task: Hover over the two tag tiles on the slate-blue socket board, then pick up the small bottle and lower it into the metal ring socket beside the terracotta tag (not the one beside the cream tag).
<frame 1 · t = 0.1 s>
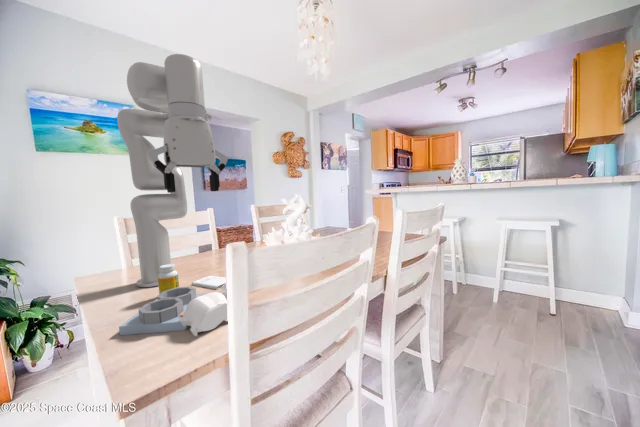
hand: (194, 191, 61), 31 cm above the table, tool pointing down, fingers open, 9 cm apart
supplement bottle: (170, 296, 81), on the table
white figurine: (216, 322, 64), on the table, touching socket board
external hard drive: (214, 285, 92), on the table
socket board: (171, 315, 68), on the table
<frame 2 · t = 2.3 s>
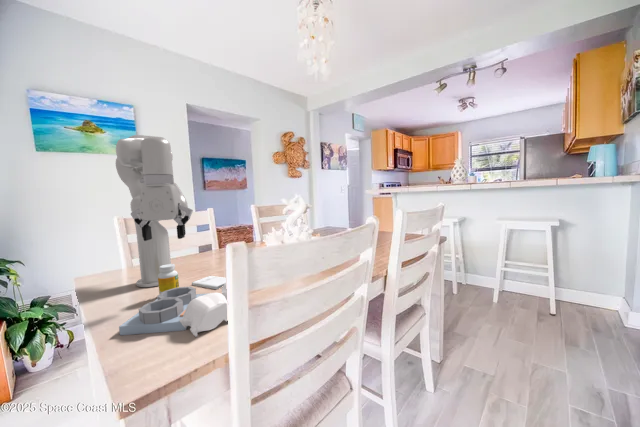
hand: (164, 239, 80), 18 cm above the table, tool pointing down, fingers open, 9 cm apart
nothing on the table moved.
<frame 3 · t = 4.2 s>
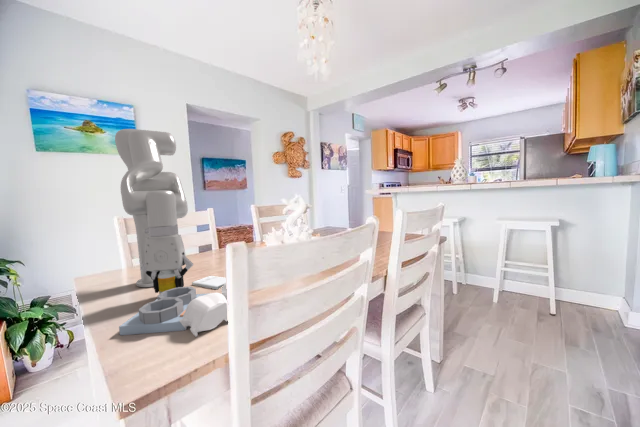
hand: (169, 289, 81), 2 cm above the table, tool pointing down, fingers closed on supplement bottle, 5 cm apart
supplement bottle: (170, 296, 81), on the table, touching gripper
everything else where it was.
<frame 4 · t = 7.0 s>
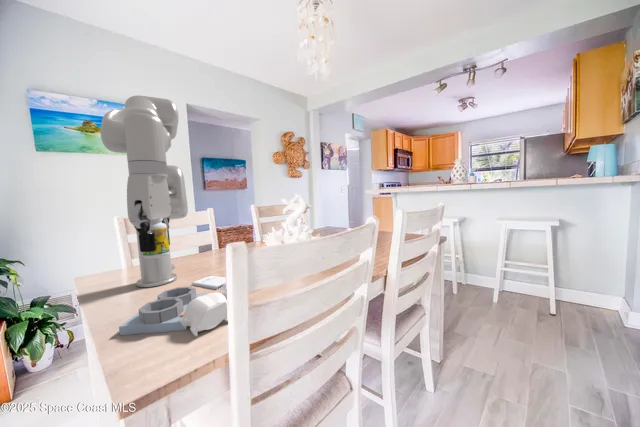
hand: (155, 247, 62), 18 cm above the table, tool pointing down, fingers closed on supplement bottle, 5 cm apart
supplement bottle: (156, 256, 62), point 16 cm above the table, touching gripper
everything else where it was.
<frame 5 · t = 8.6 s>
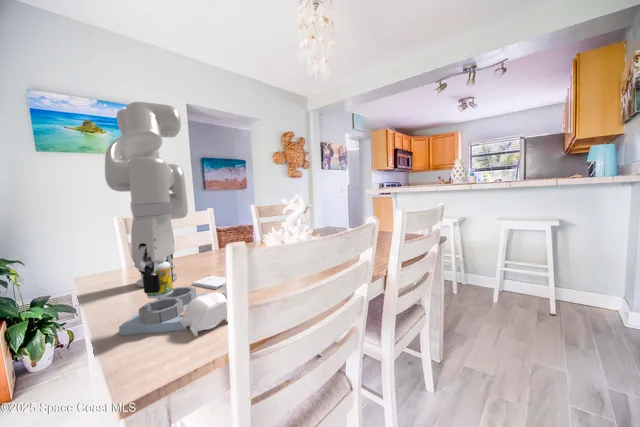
hand: (159, 286, 63), 9 cm above the table, tool pointing down, fingers closed on supplement bottle, 5 cm apart
supplement bottle: (160, 295, 63), point 7 cm above the table, touching gripper
everything else where it was.
when the fingers open (5 cm above the table, at t = 9.8 s): supplement bottle drops 1 cm, resting on socket board.
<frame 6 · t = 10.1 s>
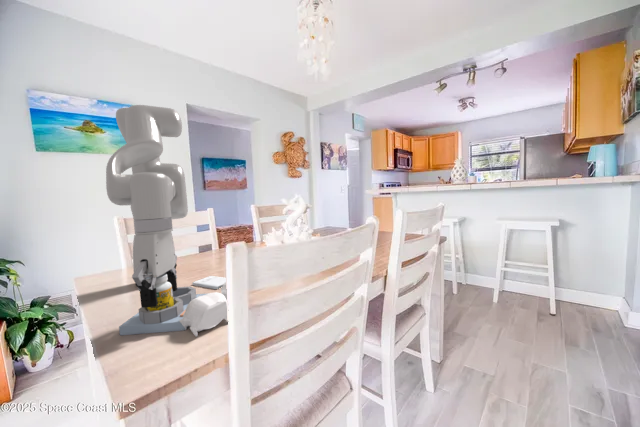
hand: (160, 298, 63), 6 cm above the table, tool pointing down, fingers open, 8 cm apart
supplement bottle: (161, 315, 63), point 2 cm above the table, touching socket board
everything else where it was.
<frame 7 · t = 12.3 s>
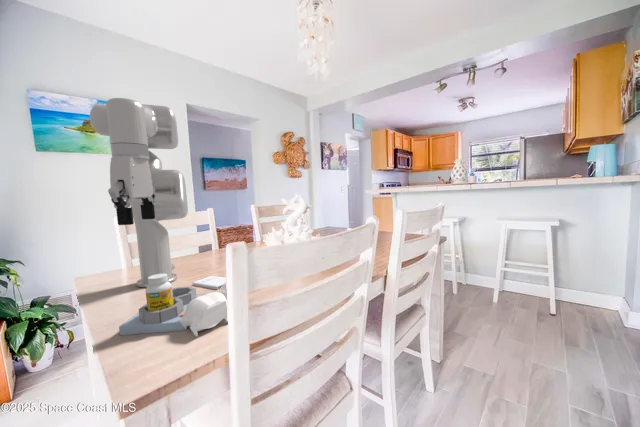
hand: (138, 221, 67), 24 cm above the table, tool pointing down, fingers open, 9 cm apart
nothing on the table moved.
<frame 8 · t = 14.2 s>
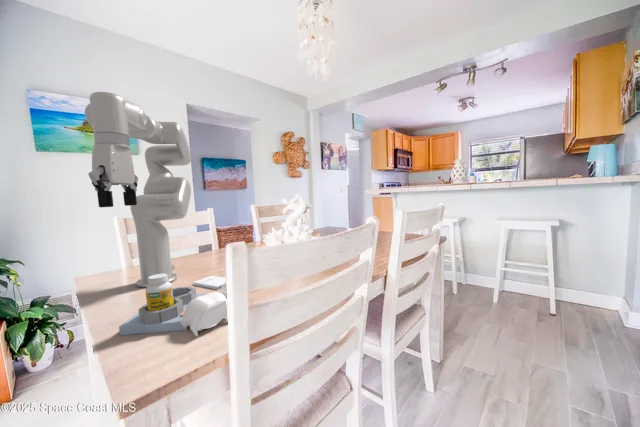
hand: (119, 206, 72), 28 cm above the table, tool pointing down, fingers open, 9 cm apart
nothing on the table moved.
at the end: supplement bottle 0.1 cm from the target spot on the socket board, point 1.8 cm above the socket board's base; supplement bottle tilted 0°; the gripper is holding nothing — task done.
